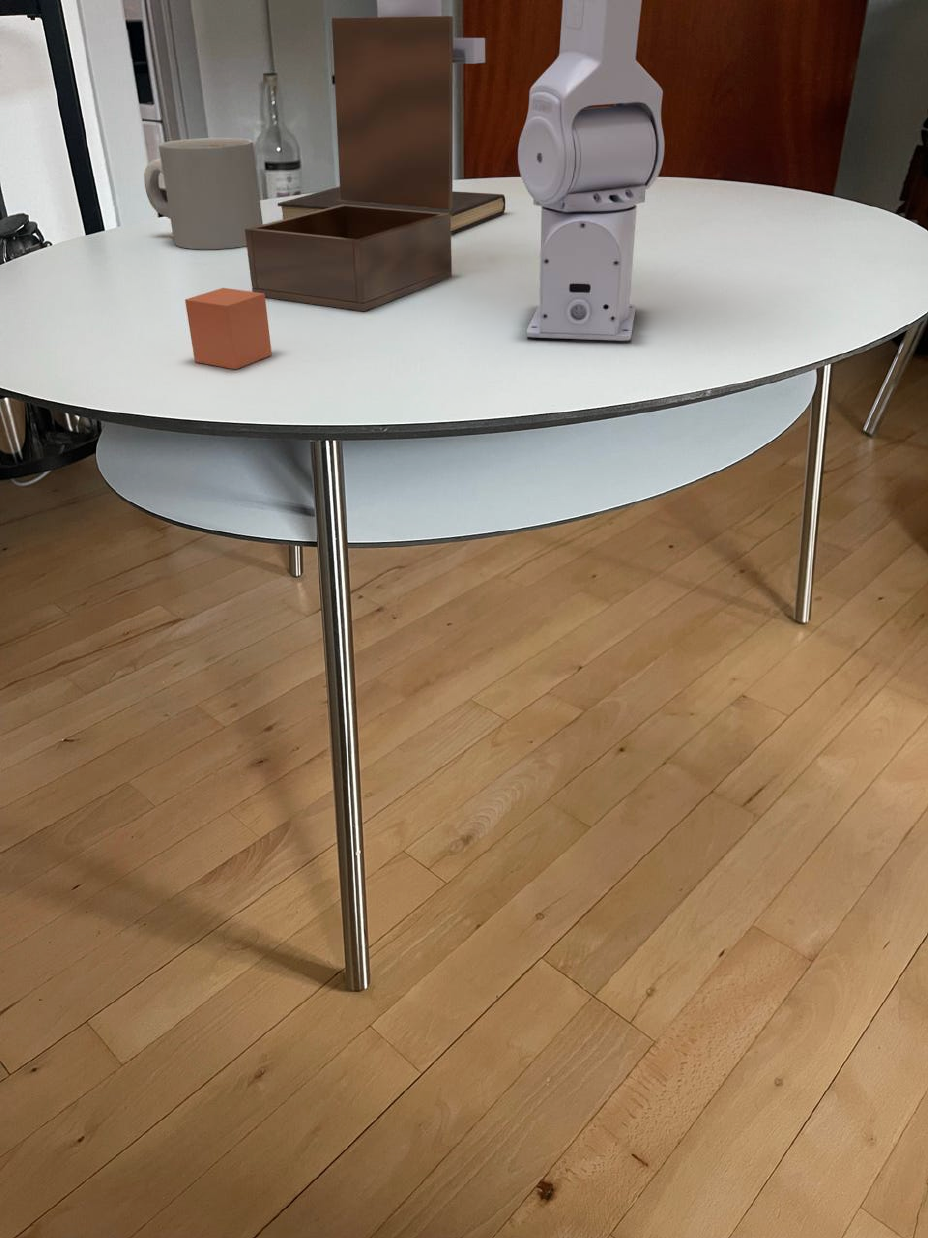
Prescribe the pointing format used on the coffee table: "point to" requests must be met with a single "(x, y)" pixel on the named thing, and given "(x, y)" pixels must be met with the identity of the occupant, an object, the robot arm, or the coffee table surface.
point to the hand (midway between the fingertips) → (414, 150)
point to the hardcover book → (463, 213)
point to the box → (350, 255)
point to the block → (229, 327)
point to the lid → (395, 109)
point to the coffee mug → (206, 191)
